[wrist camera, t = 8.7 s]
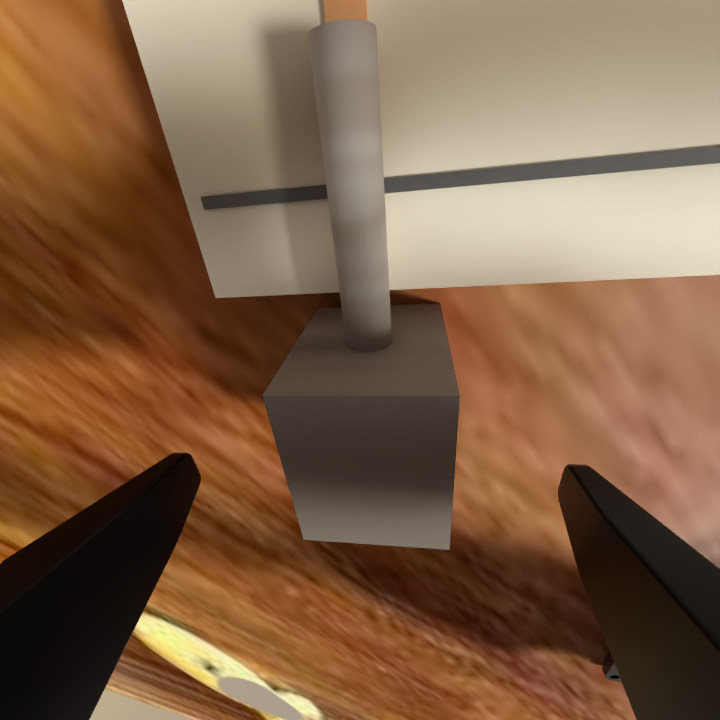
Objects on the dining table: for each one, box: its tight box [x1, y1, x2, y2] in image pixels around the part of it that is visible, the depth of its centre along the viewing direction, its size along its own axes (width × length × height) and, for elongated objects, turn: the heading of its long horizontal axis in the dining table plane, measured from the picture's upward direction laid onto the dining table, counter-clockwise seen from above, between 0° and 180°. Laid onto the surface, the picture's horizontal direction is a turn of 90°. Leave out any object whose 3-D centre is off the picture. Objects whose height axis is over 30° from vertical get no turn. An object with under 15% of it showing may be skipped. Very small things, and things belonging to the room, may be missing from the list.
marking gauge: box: [262, 19, 460, 550], centre depth 9 cm, size 11×4×5 cm, turn 5°
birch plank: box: [122, 0, 720, 298], centre depth 7 cm, size 8×22×2 cm, turn 95°
